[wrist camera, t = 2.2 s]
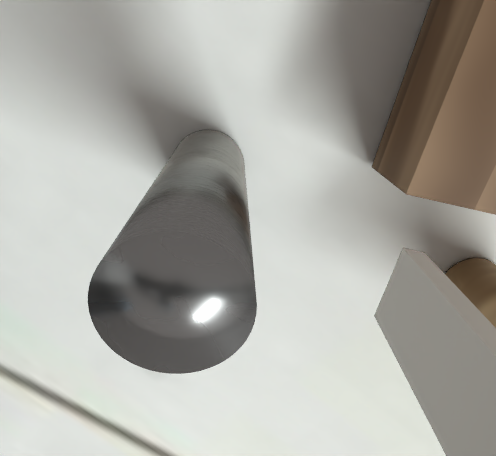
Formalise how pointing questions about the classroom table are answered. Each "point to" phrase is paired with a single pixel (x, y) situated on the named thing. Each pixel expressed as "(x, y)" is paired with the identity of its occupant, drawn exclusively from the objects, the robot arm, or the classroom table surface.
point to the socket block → (447, 110)
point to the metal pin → (182, 264)
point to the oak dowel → (477, 284)
